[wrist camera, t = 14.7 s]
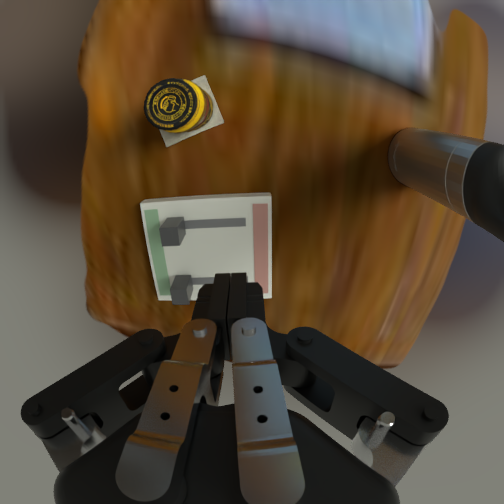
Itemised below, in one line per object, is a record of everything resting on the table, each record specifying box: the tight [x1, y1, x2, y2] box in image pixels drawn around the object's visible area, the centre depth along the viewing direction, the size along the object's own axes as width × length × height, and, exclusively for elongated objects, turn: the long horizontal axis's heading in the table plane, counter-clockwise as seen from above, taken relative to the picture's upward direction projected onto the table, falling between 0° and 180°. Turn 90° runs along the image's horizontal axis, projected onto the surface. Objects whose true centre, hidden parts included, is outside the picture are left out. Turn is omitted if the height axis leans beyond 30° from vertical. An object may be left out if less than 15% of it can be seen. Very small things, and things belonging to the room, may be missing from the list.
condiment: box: [144, 75, 224, 147], centre depth 28 cm, size 7×8×12 cm
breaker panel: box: [140, 192, 272, 300], centre depth 41 cm, size 18×16×2 cm
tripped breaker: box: [170, 275, 193, 305], centre depth 40 cm, size 2×2×4 cm
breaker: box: [159, 217, 186, 247], centre depth 36 cm, size 2×2×4 cm
